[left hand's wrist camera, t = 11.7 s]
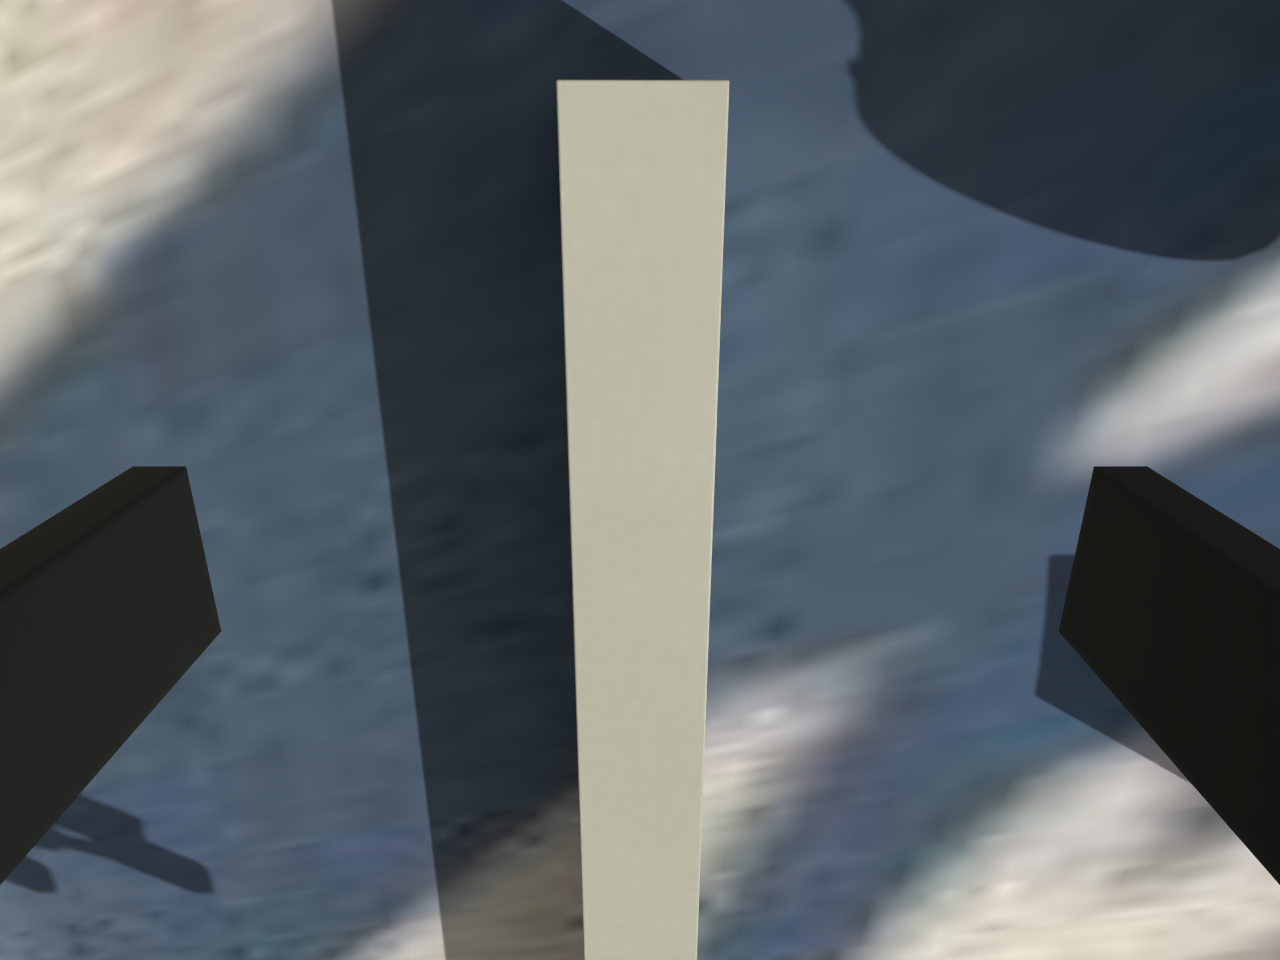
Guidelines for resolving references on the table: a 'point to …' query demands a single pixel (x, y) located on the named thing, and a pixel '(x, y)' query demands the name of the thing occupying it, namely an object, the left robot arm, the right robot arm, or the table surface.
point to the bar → (641, 488)
